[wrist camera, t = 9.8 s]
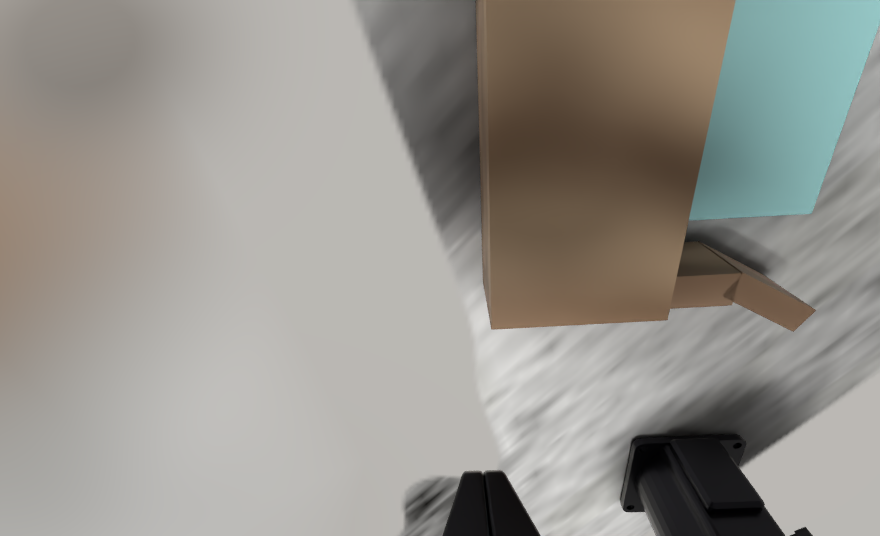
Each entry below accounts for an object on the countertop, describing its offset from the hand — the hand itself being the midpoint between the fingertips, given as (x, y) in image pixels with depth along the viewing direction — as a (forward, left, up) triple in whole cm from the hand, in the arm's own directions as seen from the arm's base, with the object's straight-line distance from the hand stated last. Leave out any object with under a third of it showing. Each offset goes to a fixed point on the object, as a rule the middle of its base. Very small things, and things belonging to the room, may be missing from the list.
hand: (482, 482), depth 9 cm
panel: (+5, -9, -13) cm, 16 cm away
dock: (+5, -8, -12) cm, 15 cm away
